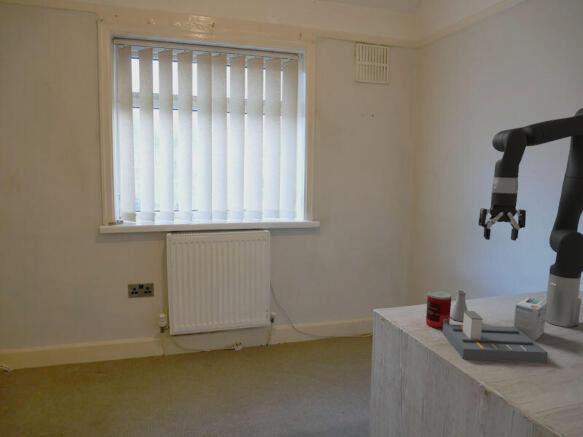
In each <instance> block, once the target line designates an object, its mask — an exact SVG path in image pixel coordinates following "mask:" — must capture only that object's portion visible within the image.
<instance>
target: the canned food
mask: <svg viewBox="0 0 583 437" xmlns="http://www.w3.org/2000/svg"><path fill="white" fill-rule="evenodd" d="M451 307H452V294H451V293H450V292H447V291H443V290H430V291H428V292H427V297H426V313H425V314H426V315H425V323H426V325H427V326H429V327H431V328H433V329H440V330H441V329H442V330H443V324H450V319H451V318H450V312H451V311H452V309H451Z"/></svg>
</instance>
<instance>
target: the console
mask: <svg viewBox="0 0 583 437" xmlns="http://www.w3.org/2000/svg"><path fill="white" fill-rule="evenodd" d="M441 333H442V334H443V336H444V337H445V338H446V340H448V342H449V343H450V344H451V346H452V347H453V348H454V350H455V351H456V352H457V353H458V354H459V356H460V358H462V359H464V360H479V361H481V360H485V361H499V362H500V361H501V362H502V361H505V362H525V363H529V362H530V363H544V364H546V363H547V362H548V361H547V360H548V351H547V350H545V349H544V348H542V347H541V346H540V345H539V344H537V343H536V341H532V340H531V339H530V338H529V337H527V336H526V335H525V334H524V333H522V332H521V331H520V330H518V329H517V328H516V327H514V326H501V325H499V326H497V325H482V328H481V340H478V339H469V338H468V337H467V336H466V335H465V334H464V332H463V324H452V323H451V324H450V323H449V324H443V329H442V332H441Z"/></svg>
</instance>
